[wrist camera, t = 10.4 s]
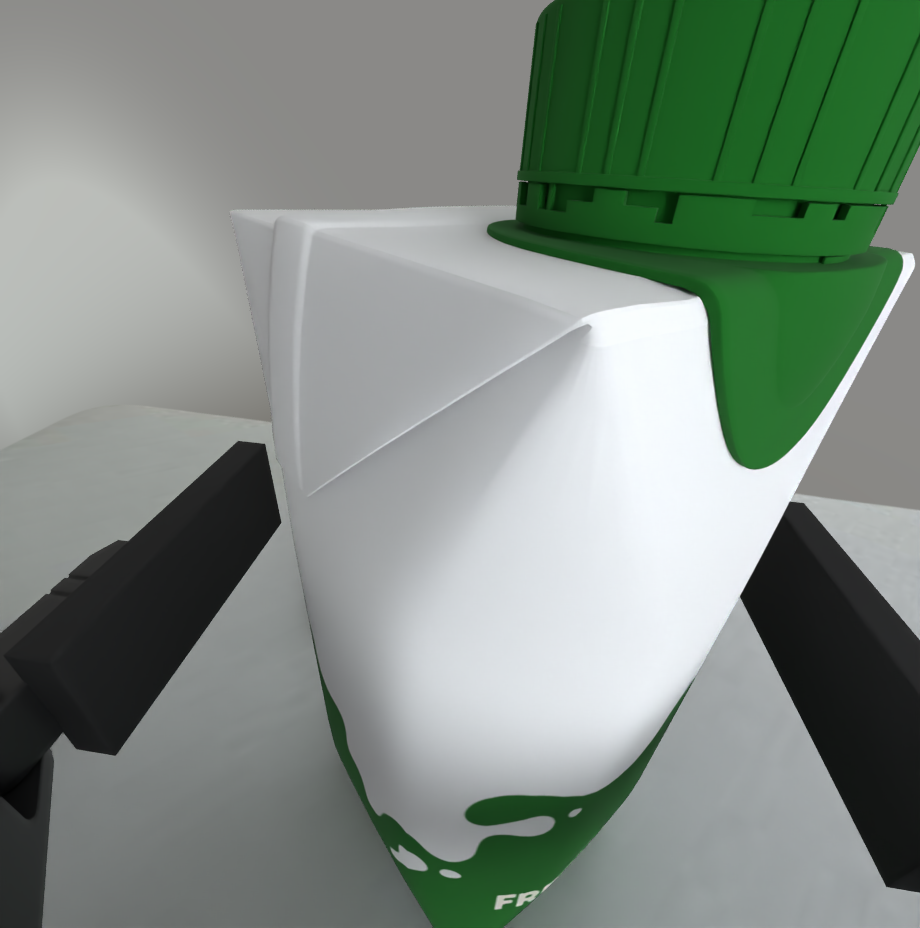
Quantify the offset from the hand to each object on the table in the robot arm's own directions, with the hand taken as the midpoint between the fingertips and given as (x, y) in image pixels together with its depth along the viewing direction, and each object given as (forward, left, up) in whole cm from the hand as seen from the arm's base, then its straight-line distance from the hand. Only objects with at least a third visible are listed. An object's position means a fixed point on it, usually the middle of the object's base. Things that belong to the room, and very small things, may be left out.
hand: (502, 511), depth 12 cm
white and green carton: (0, +2, -11) cm, 11 cm away
